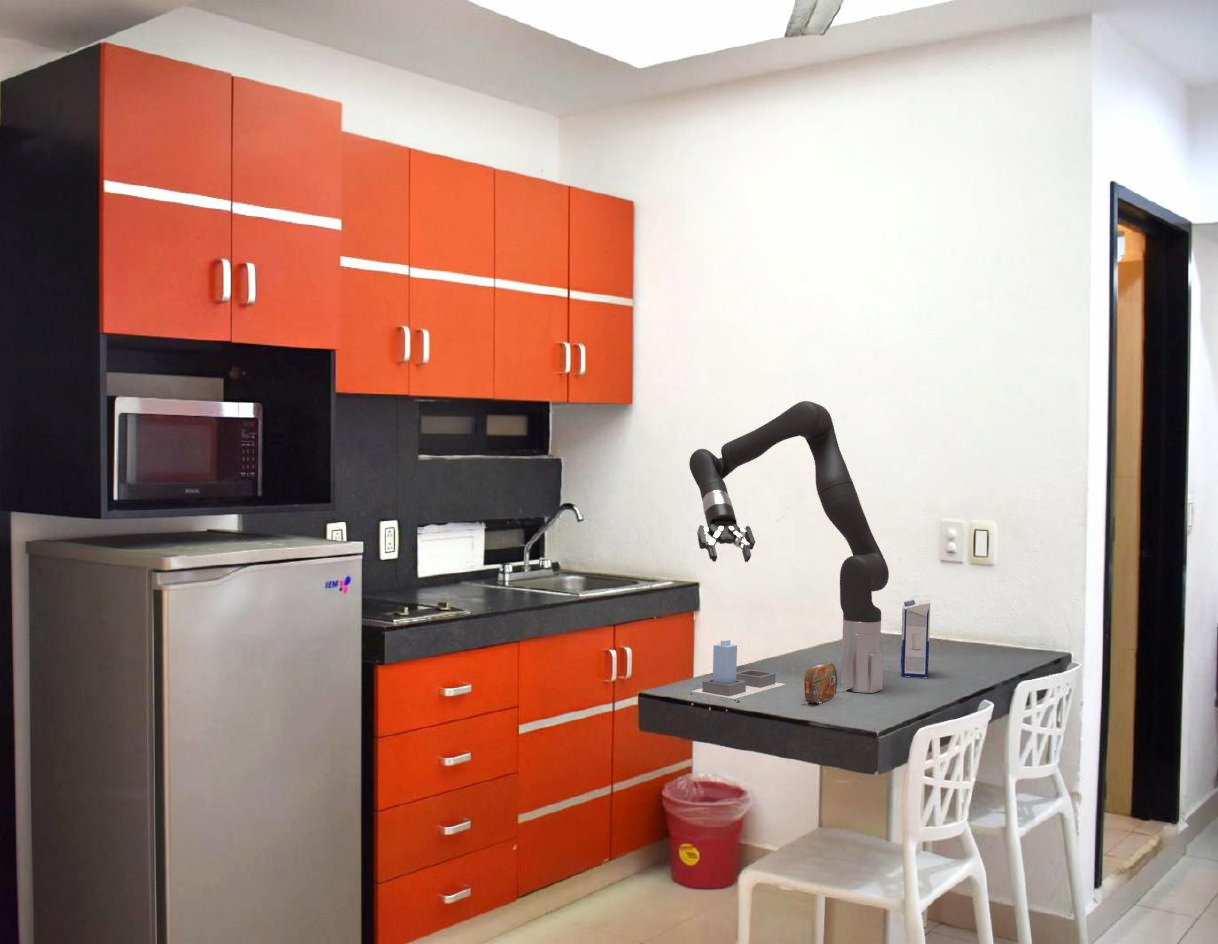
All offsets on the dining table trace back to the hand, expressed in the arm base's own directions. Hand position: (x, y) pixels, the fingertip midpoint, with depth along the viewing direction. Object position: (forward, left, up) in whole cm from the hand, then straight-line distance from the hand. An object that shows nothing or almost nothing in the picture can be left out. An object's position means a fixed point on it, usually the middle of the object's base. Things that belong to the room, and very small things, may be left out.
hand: (731, 559), depth 301 cm
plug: (-9, +16, -30) cm, 35 cm away
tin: (-28, +4, -31) cm, 42 cm away
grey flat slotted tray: (-9, +9, -31) cm, 33 cm away
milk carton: (-31, -43, -31) cm, 61 cm away
